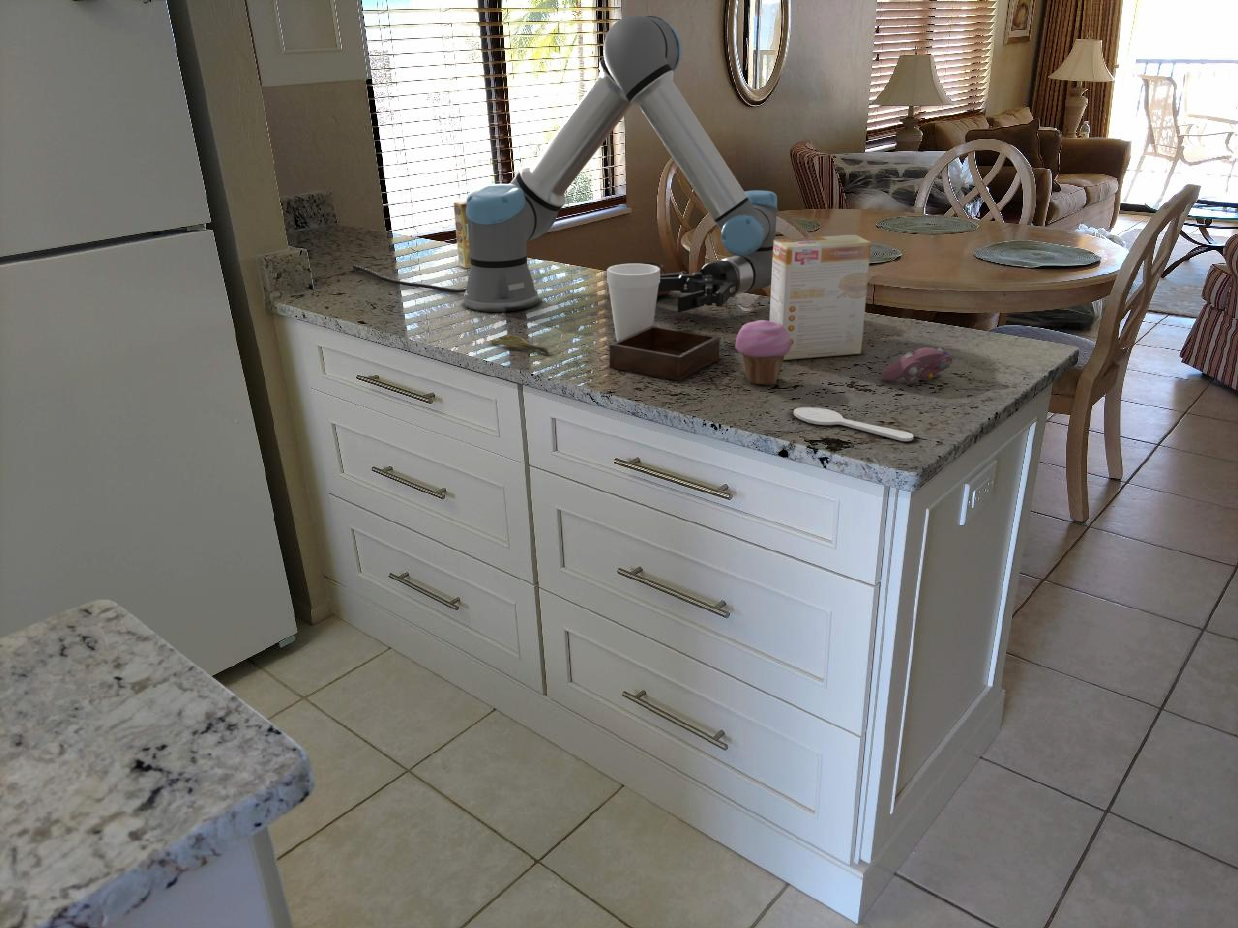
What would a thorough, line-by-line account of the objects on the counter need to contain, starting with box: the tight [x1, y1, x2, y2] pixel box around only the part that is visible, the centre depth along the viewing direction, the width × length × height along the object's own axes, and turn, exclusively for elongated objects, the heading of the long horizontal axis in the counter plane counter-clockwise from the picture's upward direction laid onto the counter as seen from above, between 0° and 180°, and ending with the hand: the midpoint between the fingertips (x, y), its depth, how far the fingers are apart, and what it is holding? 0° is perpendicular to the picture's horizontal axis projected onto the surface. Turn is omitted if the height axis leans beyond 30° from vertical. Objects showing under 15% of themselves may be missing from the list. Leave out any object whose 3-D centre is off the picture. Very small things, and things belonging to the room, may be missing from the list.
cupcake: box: [734, 319, 791, 386], centre depth 152 cm, size 9×9×10 cm
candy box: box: [453, 200, 471, 269], centre depth 232 cm, size 9×4×15 cm, turn 126°
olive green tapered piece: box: [489, 334, 549, 356], centre depth 172 cm, size 4×13×2 cm, turn 55°
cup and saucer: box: [633, 261, 672, 297], centre depth 205 cm, size 12×12×6 cm
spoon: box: [793, 406, 914, 442], centre depth 136 cm, size 5×18×1 cm, turn 52°
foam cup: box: [606, 263, 660, 342], centre depth 173 cm, size 10×9×13 cm
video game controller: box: [882, 346, 953, 385], centre depth 152 cm, size 10×5×7 cm, turn 114°
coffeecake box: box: [768, 234, 872, 361], centre depth 164 cm, size 15×7×20 cm, turn 102°
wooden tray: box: [608, 325, 721, 382], centre depth 162 cm, size 14×14×4 cm
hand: (651, 298), depth 176 cm, fingers open, 13 cm apart
